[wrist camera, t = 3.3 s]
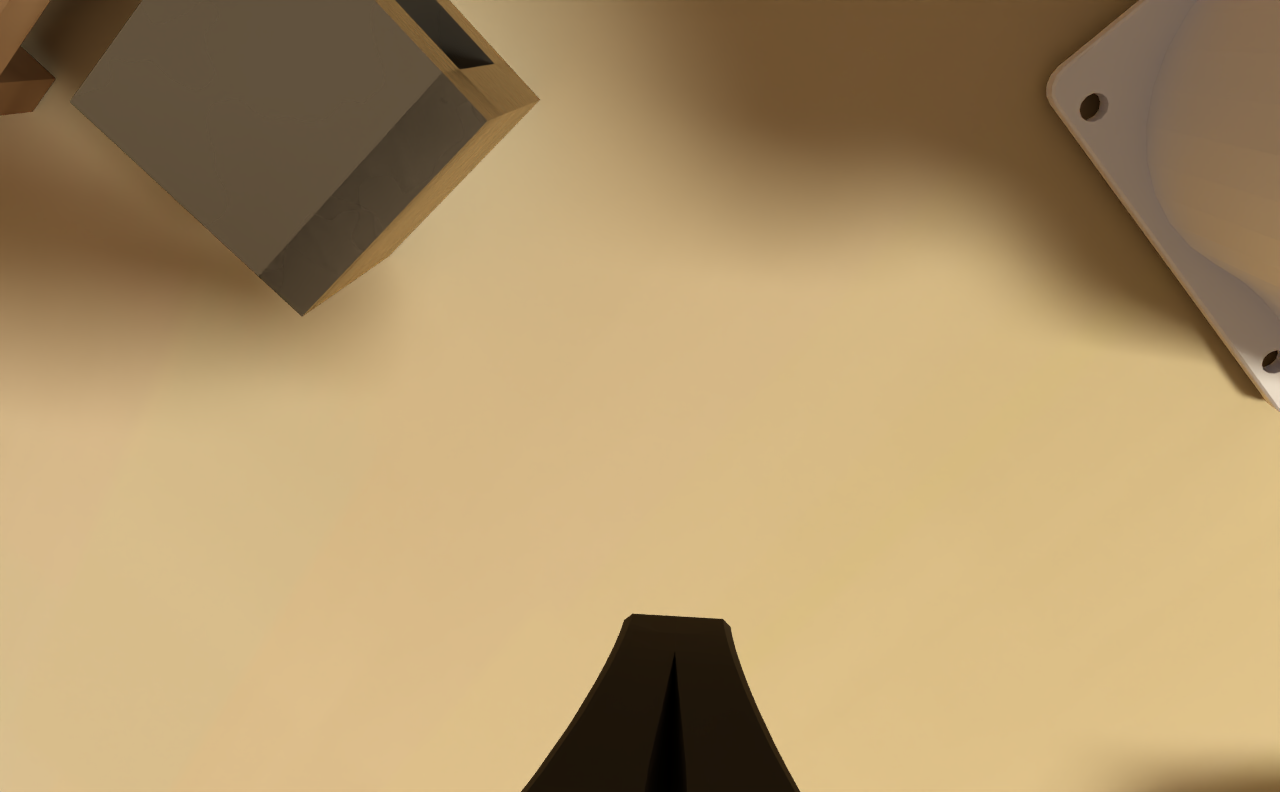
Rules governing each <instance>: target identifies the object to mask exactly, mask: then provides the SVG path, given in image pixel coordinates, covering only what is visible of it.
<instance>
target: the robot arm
mask: <svg viewBox="0 0 1280 792" xmlns="http://www.w3.org/2000/svg"><path fill="white" fill-rule="evenodd" d="M1093 93H1095V94H1096V95H1098V97H1099V100H1100V106H1099V110H1098V111H1097V113H1096V114H1095V115H1094V116H1093V117H1091V118H1089V119H1087V120H1084V119H1083V118H1082V117H1081V114H1080V111H1079V110H1080V106H1081V103H1082V101H1083V100H1084V99H1085V98H1086V97H1087V96H1089V95H1091V94H1093ZM1046 96H1047V98H1048V101H1049V103H1050V105H1051V106H1052V108H1053V109H1054V110H1055V112H1056V113H1057V115H1058V116H1059V117H1060V119H1061V120H1062V121H1063V123H1064V124H1065V126H1066V127H1067V128H1068V130H1069V131H1070V132H1071V134H1072V135H1073V137H1074V138H1075V139H1076V141H1077V142H1078V143H1079V145H1080V146H1081V148H1082V149H1083V150H1084V152H1085V153H1086V154H1087V156H1088V157H1089V159H1090V160H1091V161H1092V163H1093V164H1094V165H1095V167H1096V168H1097V170H1098V171H1099V172H1100V174H1101V175H1102V176H1103V178H1104V179H1105V181H1106V182H1107V183H1108V185H1109V186H1110V187H1111V189H1112V190H1113V192H1114V193H1115V194H1116V196H1117V197H1118V198H1119V200H1120V201H1121V203H1122V204H1123V205H1124V207H1125V208H1126V209H1127V211H1128V212H1129V214H1130V215H1131V216H1132V218H1133V219H1134V220H1135V222H1136V223H1137V225H1138V226H1139V227H1140V229H1141V230H1142V231H1143V233H1144V234H1145V236H1146V237H1147V238H1148V240H1149V241H1150V242H1151V244H1152V245H1153V247H1154V248H1155V249H1156V251H1157V252H1158V253H1159V255H1160V256H1161V257H1162V259H1163V260H1164V262H1165V263H1166V264H1167V266H1168V267H1169V268H1170V270H1171V271H1172V273H1173V274H1174V275H1175V277H1176V278H1177V279H1178V281H1179V282H1180V284H1181V285H1182V286H1183V288H1184V289H1185V290H1186V292H1187V293H1188V295H1189V296H1190V297H1191V299H1192V300H1193V301H1194V303H1195V304H1196V306H1197V307H1198V308H1199V310H1200V311H1201V312H1202V314H1203V315H1204V317H1205V318H1206V319H1207V321H1208V322H1209V323H1210V325H1211V326H1212V328H1213V329H1214V330H1215V332H1216V333H1217V334H1218V336H1219V337H1220V339H1221V340H1222V341H1223V343H1224V344H1225V345H1226V347H1227V348H1228V350H1229V351H1230V352H1231V354H1232V355H1233V356H1234V358H1235V359H1236V361H1237V362H1238V363H1239V365H1240V366H1241V367H1242V369H1243V370H1244V372H1245V373H1246V374H1247V376H1248V377H1249V378H1250V380H1251V381H1252V383H1253V384H1254V385H1255V387H1256V388H1257V389H1258V391H1259V392H1260V394H1261V395H1262V396H1263V398H1264V399H1265V400H1266V402H1267V403H1268V404H1270V405H1271V406H1272V407H1273V408H1275V409H1276V410H1278V411H1279V412H1280V0H1138V1H1137V2H1136V3H1135V4H1134V5H1132V6H1131V7H1130V8H1129V9H1127V10H1126V11H1125V12H1124V13H1123V14H1121V15H1120V16H1119V17H1118V18H1116V19H1115V20H1114V21H1113V22H1112V23H1110V24H1109V25H1108V26H1107V27H1106V28H1104V29H1103V30H1102V31H1101V32H1099V33H1098V34H1097V35H1096V36H1095V37H1093V38H1092V39H1091V40H1090V41H1088V42H1087V43H1086V44H1085V45H1084V46H1082V47H1081V48H1080V49H1079V50H1077V51H1076V52H1075V53H1074V54H1073V55H1071V56H1070V57H1069V58H1068V59H1066V60H1065V61H1064V62H1063V63H1062V64H1060V65H1059V66H1058V67H1057V68H1056V69H1055V71H1054V72H1053V73H1052V74H1051V75H1050V78H1049V80H1048V83H1047V88H1046ZM1276 350H1277V351H1278V354H1277V357H1276V359H1275V360H1274V361H1273V362H1272V363H1271V364H1270V365H1267V366H1265V367H1262V362H1263V359H1264V358H1265V357H1266V356H1267V355H1268V354H1269V353H1271V352H1273V351H1276ZM521 792H800V791H799V789H798V787H797V785H796V783H795V782H794V780H793V778H792V776H791V774H790V772H789V771H788V769H787V767H786V765H785V763H784V761H783V759H782V757H781V755H780V754H779V752H778V750H777V748H776V746H775V744H774V742H773V739H772V737H771V735H770V733H769V731H768V729H767V727H766V725H765V722H764V720H763V718H762V716H761V714H760V712H759V710H758V707H757V705H756V703H755V700H754V698H753V696H752V693H751V691H750V688H749V686H748V683H747V681H746V678H745V675H744V673H743V670H742V667H741V664H740V661H739V659H738V655H737V652H736V649H735V645H734V641H733V638H732V633H731V627H730V626H729V625H728V624H727V623H726V622H725V621H724V620H723V619H713V618H696V617H679V616H662V615H645V614H632V615H630V616H629V617H628V618H626V619H625V620H624V622H623V625H622V628H621V631H620V633H619V636H618V638H617V640H616V643H615V645H614V647H613V649H612V651H611V653H610V655H609V657H608V659H607V661H606V663H605V665H604V667H603V669H602V671H601V673H600V674H599V676H598V678H597V680H596V682H595V684H594V685H593V687H592V688H591V690H590V692H589V693H588V695H587V697H586V698H585V700H584V702H583V703H582V705H581V707H580V708H579V710H578V712H577V713H576V715H575V717H574V718H573V720H572V721H571V723H570V724H569V726H568V727H567V729H566V731H565V732H564V733H563V735H562V736H561V738H560V739H559V740H558V742H557V743H556V745H555V746H554V748H553V749H552V750H551V752H550V753H549V755H548V756H547V758H546V759H545V760H544V762H543V763H542V765H541V766H540V767H539V769H538V770H537V772H536V773H535V774H534V776H533V777H532V778H531V780H530V781H529V782H528V784H527V785H526V786H525V787H524V789H523V790H522V791H521Z"/></svg>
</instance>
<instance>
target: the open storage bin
mask: <svg viewBox="0 0 1280 792" xmlns="http://www.w3.org/2000/svg"><path fill="white" fill-rule="evenodd" d="M539 100H540V99H539V98H538V97H537V96H536V95H535V94H534V92H533V91H532V90H531V89H530V88H529V87H528V86H527V85H526V84H525V83H524V82H523V80H522V79H521V78H520V77H519V76H518V75H517V74H516V73H515V72H514V71H513V69H512V68H511V67H510V66H509V65H508V64H507V63H506V62H505V61H504V60H503V58H502V57H501V56H500V55H499V54H498V53H497V52H496V51H495V50H494V49H493V47H492V46H491V45H490V44H489V43H488V42H487V41H486V40H485V39H484V38H483V37H482V35H481V34H480V33H479V32H478V31H477V30H476V29H475V28H474V27H473V26H472V24H471V23H470V22H469V21H468V20H467V19H466V18H465V17H464V16H463V15H462V13H461V12H460V11H459V10H458V9H457V8H456V7H455V6H454V5H453V4H452V2H451V1H450V0H142V1H141V3H140V4H139V6H138V7H137V8H136V10H135V11H134V13H133V14H132V15H131V17H130V18H129V20H128V21H127V22H126V24H125V25H124V27H123V28H122V29H121V31H120V32H119V34H118V35H117V36H116V38H115V39H114V41H113V42H112V43H111V45H110V46H109V48H108V49H107V50H106V52H105V53H104V55H103V56H102V57H101V59H100V60H99V61H98V63H97V64H96V66H95V67H94V68H93V70H92V71H91V73H90V74H89V75H88V77H87V78H86V80H85V81H84V82H83V84H82V85H81V87H80V88H79V89H78V91H77V92H76V94H75V95H74V96H73V98H72V99H71V101H70V103H72V104H73V105H74V106H75V107H76V108H77V109H78V110H79V111H80V112H81V113H82V114H83V115H85V116H86V117H87V118H88V119H89V120H90V121H91V122H92V123H93V124H94V125H95V126H96V127H98V128H99V129H100V130H101V131H102V132H103V133H104V134H105V135H106V136H107V137H108V138H109V139H110V140H112V141H113V142H114V143H115V144H116V145H117V146H118V147H119V148H120V149H121V150H122V151H123V152H125V153H126V154H127V155H128V156H129V157H130V158H131V159H132V160H133V161H134V162H135V163H136V164H138V165H139V166H140V167H141V168H142V169H143V170H144V171H145V172H146V173H147V174H148V175H149V176H151V177H152V178H153V179H154V180H155V181H156V182H157V183H158V184H159V185H160V186H161V187H162V188H163V189H165V190H166V191H167V192H168V193H169V194H170V195H171V196H172V197H173V198H174V199H175V200H176V201H178V202H179V203H180V204H181V205H182V206H183V207H184V208H185V209H186V210H187V211H188V212H189V213H191V214H192V215H193V216H194V217H195V218H196V219H197V220H198V221H199V222H200V223H201V224H202V225H203V226H205V227H206V228H207V229H208V230H209V231H210V232H211V233H212V234H213V235H214V236H215V237H216V238H218V239H219V240H220V241H221V242H222V243H223V244H224V245H225V246H226V247H227V248H228V249H229V250H231V251H232V252H233V253H234V254H235V255H236V256H237V257H238V258H239V259H240V260H241V261H242V262H244V263H245V264H246V265H247V266H248V267H249V268H250V269H251V270H252V271H253V272H254V273H255V274H256V275H258V276H259V277H260V278H261V279H262V280H263V281H264V282H265V283H266V284H267V285H268V286H269V287H271V288H272V289H273V290H274V291H275V292H276V293H277V294H278V295H279V296H280V297H281V298H282V299H284V300H285V301H286V302H287V303H288V304H289V305H290V306H291V307H292V308H293V309H294V310H295V311H296V312H298V313H299V314H300V315H301V316H304V315H305V314H306V313H308V312H309V311H311V310H312V309H314V308H315V307H317V306H318V305H319V304H321V303H322V302H324V301H325V300H327V299H328V298H329V297H331V296H332V295H334V294H335V293H337V292H338V291H340V290H341V289H342V288H344V287H345V286H347V285H348V284H350V283H351V282H352V281H354V280H355V279H357V278H358V277H360V276H361V275H363V274H364V273H365V272H367V271H368V270H370V269H371V268H373V267H374V266H376V265H377V264H378V263H380V262H381V261H383V260H384V259H386V258H387V257H388V256H390V255H391V254H392V253H393V251H394V250H395V249H396V248H397V247H398V246H399V245H400V244H401V243H402V242H403V241H404V240H405V239H406V238H407V237H408V236H409V235H410V234H411V233H412V232H413V231H414V230H415V229H416V228H417V227H418V226H419V225H420V224H421V222H422V221H423V220H424V219H425V218H426V217H427V216H428V215H429V214H430V213H431V212H432V211H433V210H434V209H435V208H436V207H437V206H438V205H439V204H440V203H441V202H442V201H443V200H444V199H445V198H446V197H447V196H448V195H449V193H450V192H451V191H452V190H453V189H454V188H455V187H456V186H457V185H458V184H459V183H460V182H461V181H462V180H463V179H464V178H465V177H466V176H467V175H468V174H469V173H470V172H471V171H472V170H473V169H474V168H475V167H476V166H477V165H478V163H479V162H480V161H481V160H482V159H483V158H484V157H485V156H486V155H487V154H488V153H489V152H490V151H491V150H492V149H493V148H494V147H495V146H496V145H497V144H498V143H499V142H500V141H501V140H502V139H503V138H504V137H505V136H506V134H507V133H508V132H509V131H510V130H511V129H512V128H513V127H514V126H515V125H516V124H517V123H518V122H519V121H520V120H521V119H522V118H523V117H524V116H525V115H526V114H527V113H528V112H529V111H530V110H531V109H532V108H533V107H534V105H535V104H536V103H537V102H538V101H539Z"/></svg>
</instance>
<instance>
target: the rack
mask: <svg viewBox="0 0 1280 792" xmlns="http://www.w3.org/2000/svg"><path fill="white" fill-rule="evenodd" d="M49 2H50V0H0V115H8V114H16V113H25V112H33V110H34V109H35V107H36V106H37V105H38V103H39V102H40V100H41V99H42V97H43V96H44V95H45V93H46V92H47V90H48V89H49V87H50V86H51V85H52V83H53V82H54V80H55V78H54V77H53V76H52V75H51V74H50V73H49V72H48V71H47V70H46V69H45V68H44V67H42V66H41V65H40V64H39V63H38V62H37V61H36V60H35V59H34V58H33V57H32V56H31V55H29V54H28V53H27V52H26V51H25V50H24V49H23V48H22V47H21V46H20V45H21V43H22V42H23V40H24V39H25V37H26V36H27V35H28V33H29V32H30V30H31V29H32V27H33V26H34V24H35V23H36V21H37V20H38V18H39V17H40V15H41V14H42V12H43V11H44V9H45V8H46V6H47V5H48V3H49Z"/></svg>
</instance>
